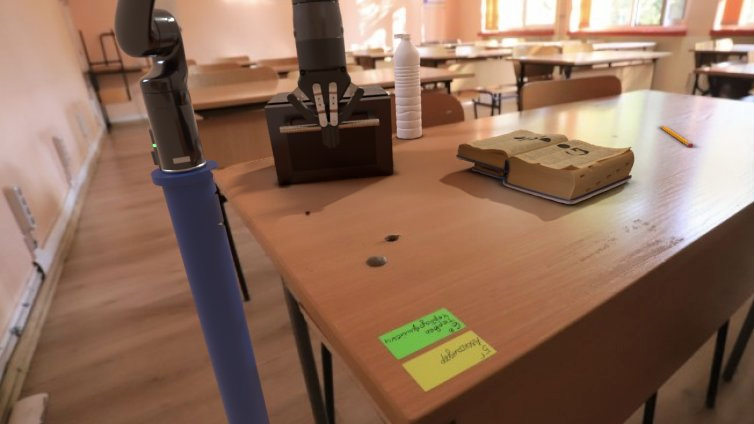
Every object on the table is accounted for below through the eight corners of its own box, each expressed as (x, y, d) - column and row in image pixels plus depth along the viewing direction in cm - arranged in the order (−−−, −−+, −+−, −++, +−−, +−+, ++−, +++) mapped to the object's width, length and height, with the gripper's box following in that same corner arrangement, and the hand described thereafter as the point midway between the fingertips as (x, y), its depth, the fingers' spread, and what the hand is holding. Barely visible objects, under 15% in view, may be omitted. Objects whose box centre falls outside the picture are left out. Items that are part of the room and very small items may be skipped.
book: (632, 180, 68) (639, 145, 66) (570, 206, 60) (574, 167, 58) (512, 153, 88) (514, 125, 86) (453, 170, 80) (453, 139, 78)
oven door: (396, 183, 77) (394, 104, 69) (276, 194, 75) (260, 115, 68) (392, 171, 82) (389, 95, 74) (279, 181, 80) (265, 105, 73)
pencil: (688, 147, 85) (688, 144, 84) (659, 127, 101) (660, 124, 101) (692, 147, 84) (693, 144, 84) (663, 127, 101) (663, 124, 101)
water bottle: (402, 133, 114) (398, 34, 104) (425, 134, 111) (423, 32, 101) (390, 140, 106) (384, 35, 97) (414, 141, 104) (410, 33, 94)
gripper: (360, 34, 68) (369, 139, 74) (279, 40, 67) (294, 146, 73) (363, 32, 61) (372, 149, 67) (272, 39, 60) (290, 156, 66)
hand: (332, 147), depth 70 cm, fingers closed
